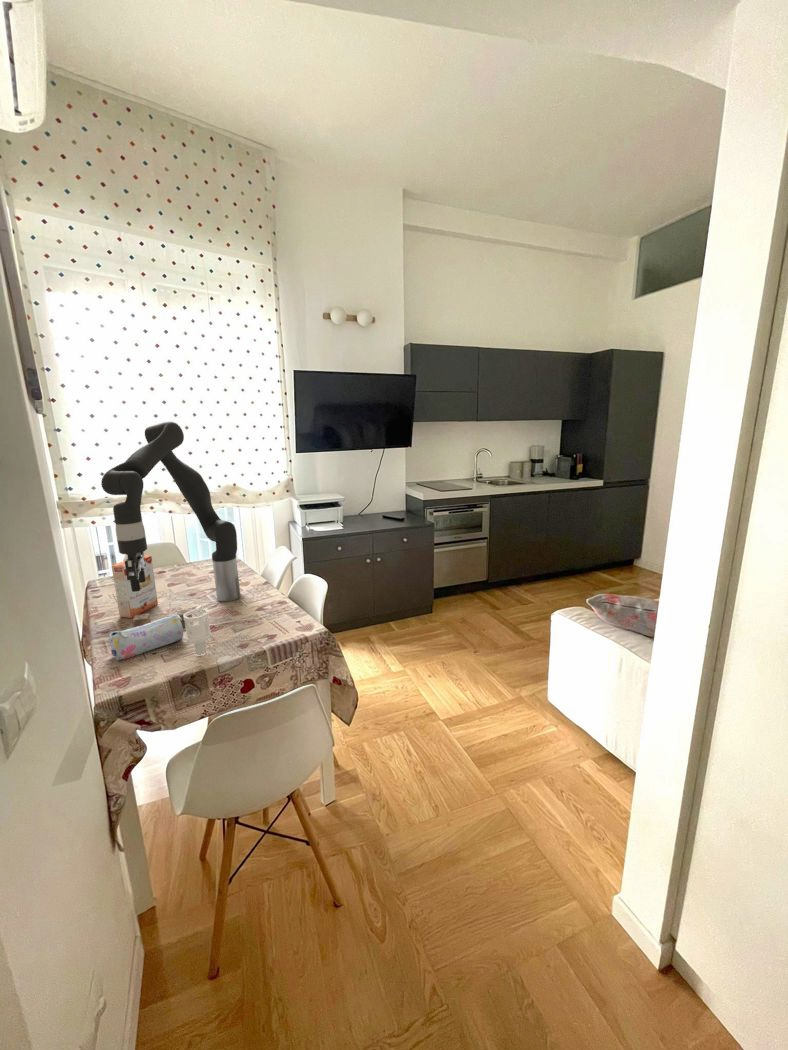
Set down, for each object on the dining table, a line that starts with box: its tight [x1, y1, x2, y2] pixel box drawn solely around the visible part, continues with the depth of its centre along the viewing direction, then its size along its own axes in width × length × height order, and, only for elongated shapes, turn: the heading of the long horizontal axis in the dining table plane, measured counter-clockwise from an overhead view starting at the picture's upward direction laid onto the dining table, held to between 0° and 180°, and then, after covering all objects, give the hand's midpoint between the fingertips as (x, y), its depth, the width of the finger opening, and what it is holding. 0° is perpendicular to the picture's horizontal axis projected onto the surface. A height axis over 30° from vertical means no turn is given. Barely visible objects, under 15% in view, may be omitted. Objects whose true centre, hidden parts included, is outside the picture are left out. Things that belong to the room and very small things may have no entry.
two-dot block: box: [176, 608, 193, 627], centre depth 157 cm, size 4×4×5 cm
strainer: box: [183, 605, 212, 655], centre depth 134 cm, size 7×7×15 cm
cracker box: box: [111, 555, 159, 619], centre depth 167 cm, size 14×6×21 cm, turn 168°
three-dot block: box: [132, 612, 152, 628], centre depth 154 cm, size 4×4×5 cm
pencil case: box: [108, 613, 184, 661], centre depth 139 cm, size 21×9×10 cm, turn 131°
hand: (139, 586), depth 135 cm, fingers open, 8 cm apart
